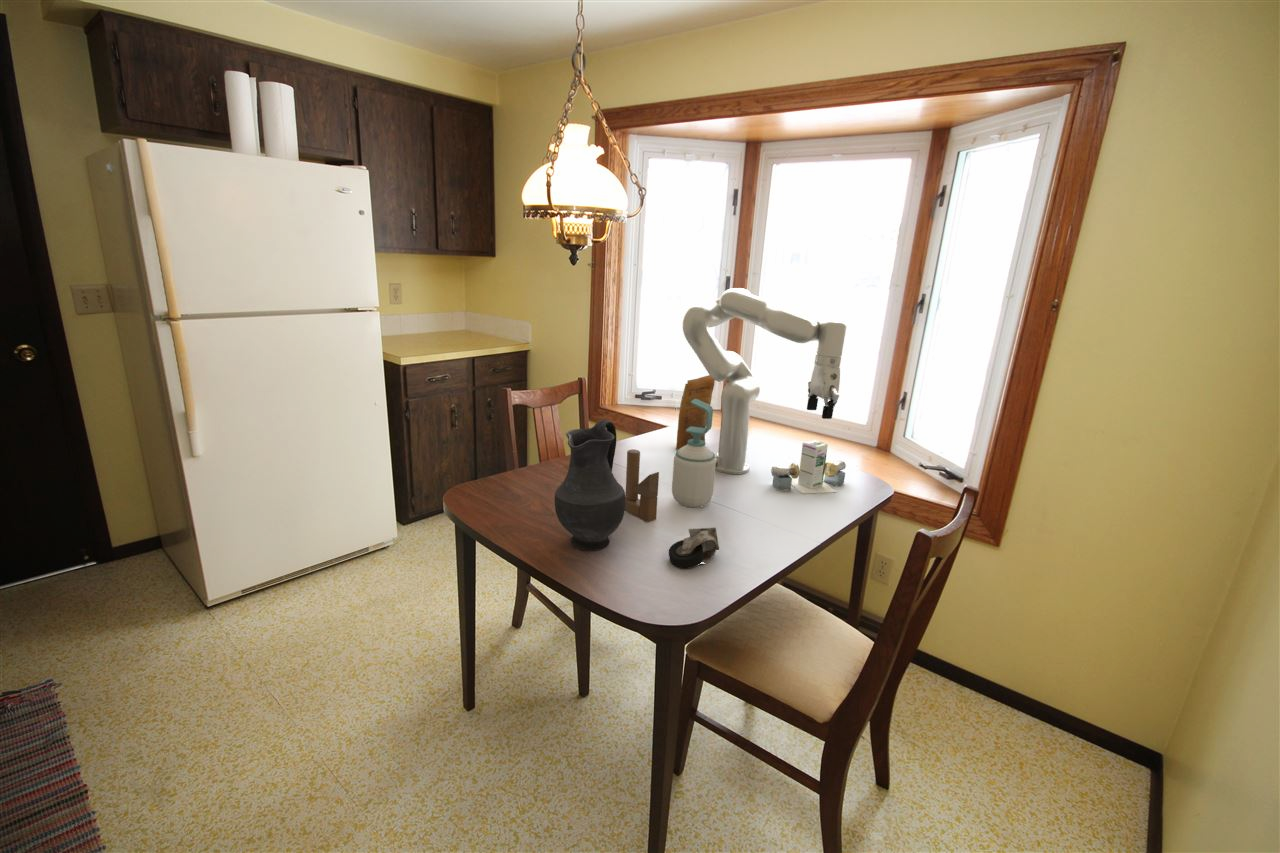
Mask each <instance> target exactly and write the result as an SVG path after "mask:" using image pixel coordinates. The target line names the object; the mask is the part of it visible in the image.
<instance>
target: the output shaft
mask: <svg viewBox="0 0 1280 853" xmlns="http://www.w3.org/2000/svg"><path fill="white" fill-rule="evenodd" d="M846 467H847V466H846V462H845V461H843V460H838V461H836V462H831V461H828V462H825V470H824V477H823V482H824V483H826V484H827V483H828V484H830V485H833V486H836V487H839V486H841V484H842V485H844V484H843V483H845V479H846V478H845V477H846V472H845V471H843V470H845V468H846Z"/></svg>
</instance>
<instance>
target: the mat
mask: <svg viewBox="0 0 1280 853" xmlns="http://www.w3.org/2000/svg"><path fill="white" fill-rule="evenodd" d="M798 479H799V477H798V478H797V479H793V478H792V482H791V487H794V489H796V490H797V491H798V492H799V493H800V494H802V495H804V494H805V495H806V494H833V493H835V494H836V493H837V491H836V490H835V489H834V488H832V487H831V486H830V485H828V484H827V482H824V481H823V485H822V486H819V487H816V488H813V489H810V488H807V487H805V486H803V485H800V484H798Z"/></svg>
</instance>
